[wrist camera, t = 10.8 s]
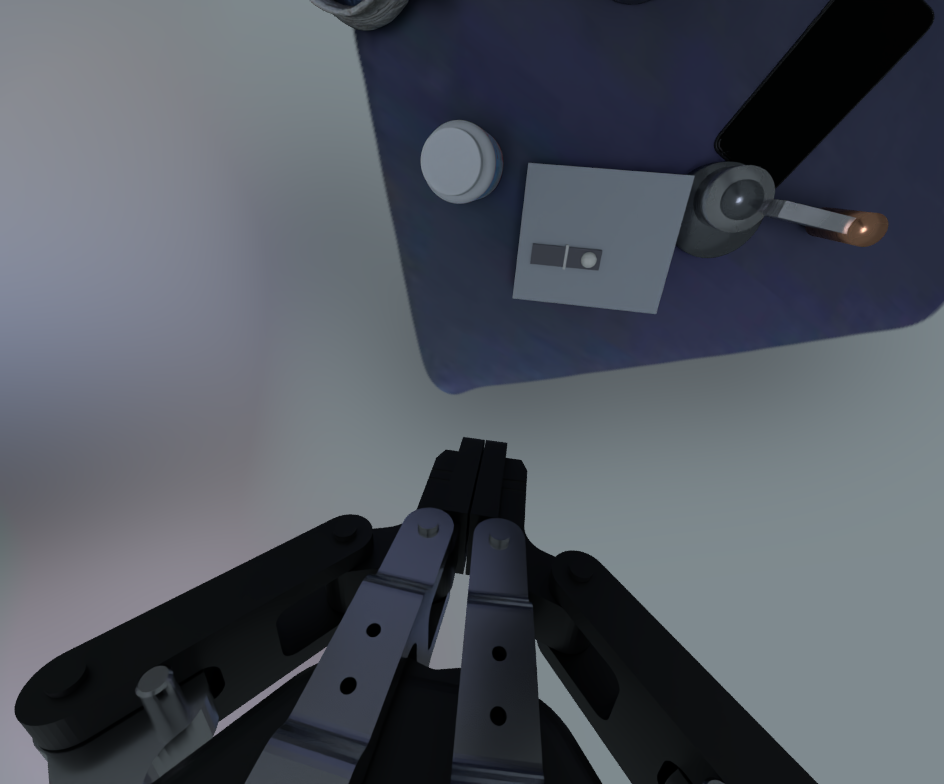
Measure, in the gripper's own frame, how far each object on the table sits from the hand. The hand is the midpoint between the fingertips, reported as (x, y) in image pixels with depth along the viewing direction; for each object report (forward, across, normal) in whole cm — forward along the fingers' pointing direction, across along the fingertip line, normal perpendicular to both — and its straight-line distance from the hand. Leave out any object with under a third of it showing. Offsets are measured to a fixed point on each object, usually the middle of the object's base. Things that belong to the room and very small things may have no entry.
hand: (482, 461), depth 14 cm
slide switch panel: (+35, -6, -4) cm, 36 cm away
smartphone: (+36, -22, -17) cm, 45 cm away
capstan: (+35, -20, -6) cm, 40 cm away
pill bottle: (+35, +6, -9) cm, 37 cm away
